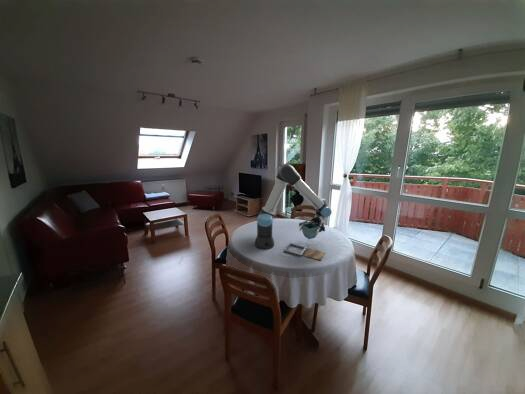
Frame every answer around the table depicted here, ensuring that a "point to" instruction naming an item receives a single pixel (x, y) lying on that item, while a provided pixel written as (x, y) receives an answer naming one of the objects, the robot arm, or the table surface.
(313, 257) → the walnut board
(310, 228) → the flower pot
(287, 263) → the table surface
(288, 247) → the metal collar
